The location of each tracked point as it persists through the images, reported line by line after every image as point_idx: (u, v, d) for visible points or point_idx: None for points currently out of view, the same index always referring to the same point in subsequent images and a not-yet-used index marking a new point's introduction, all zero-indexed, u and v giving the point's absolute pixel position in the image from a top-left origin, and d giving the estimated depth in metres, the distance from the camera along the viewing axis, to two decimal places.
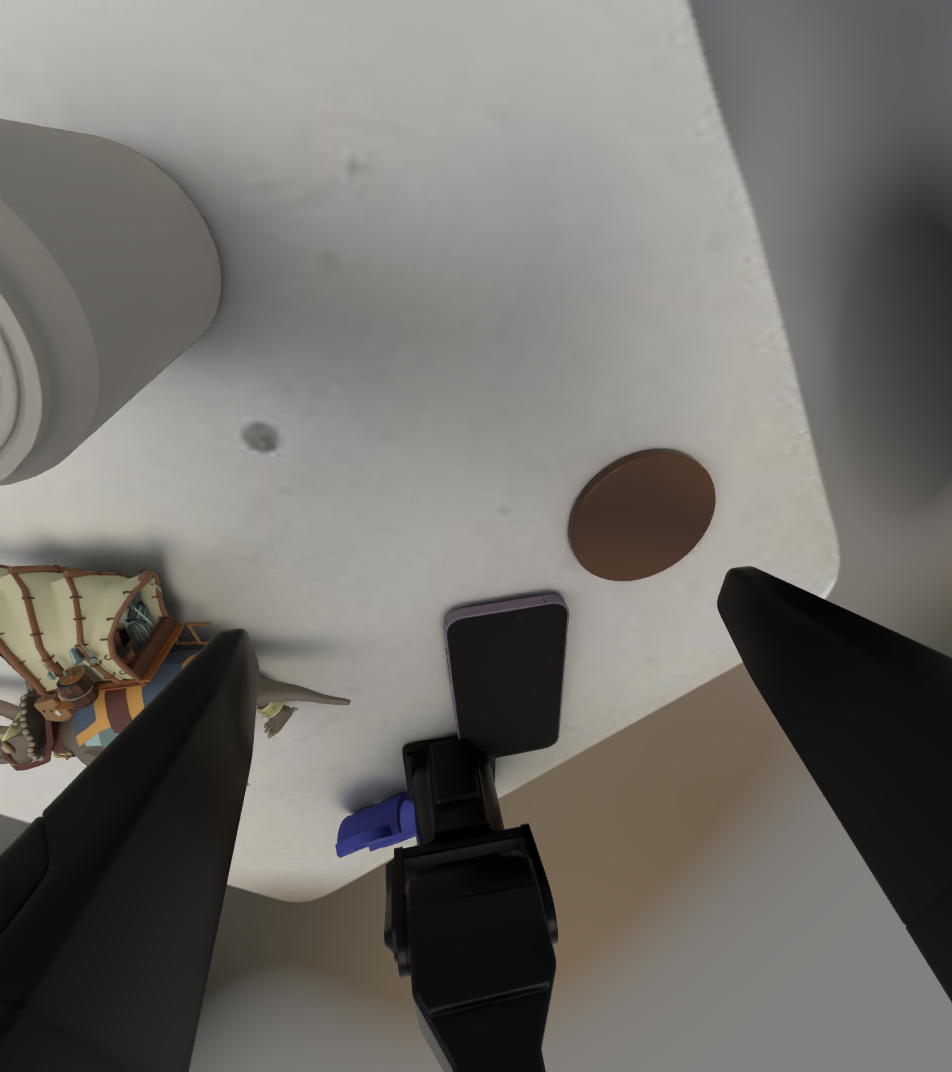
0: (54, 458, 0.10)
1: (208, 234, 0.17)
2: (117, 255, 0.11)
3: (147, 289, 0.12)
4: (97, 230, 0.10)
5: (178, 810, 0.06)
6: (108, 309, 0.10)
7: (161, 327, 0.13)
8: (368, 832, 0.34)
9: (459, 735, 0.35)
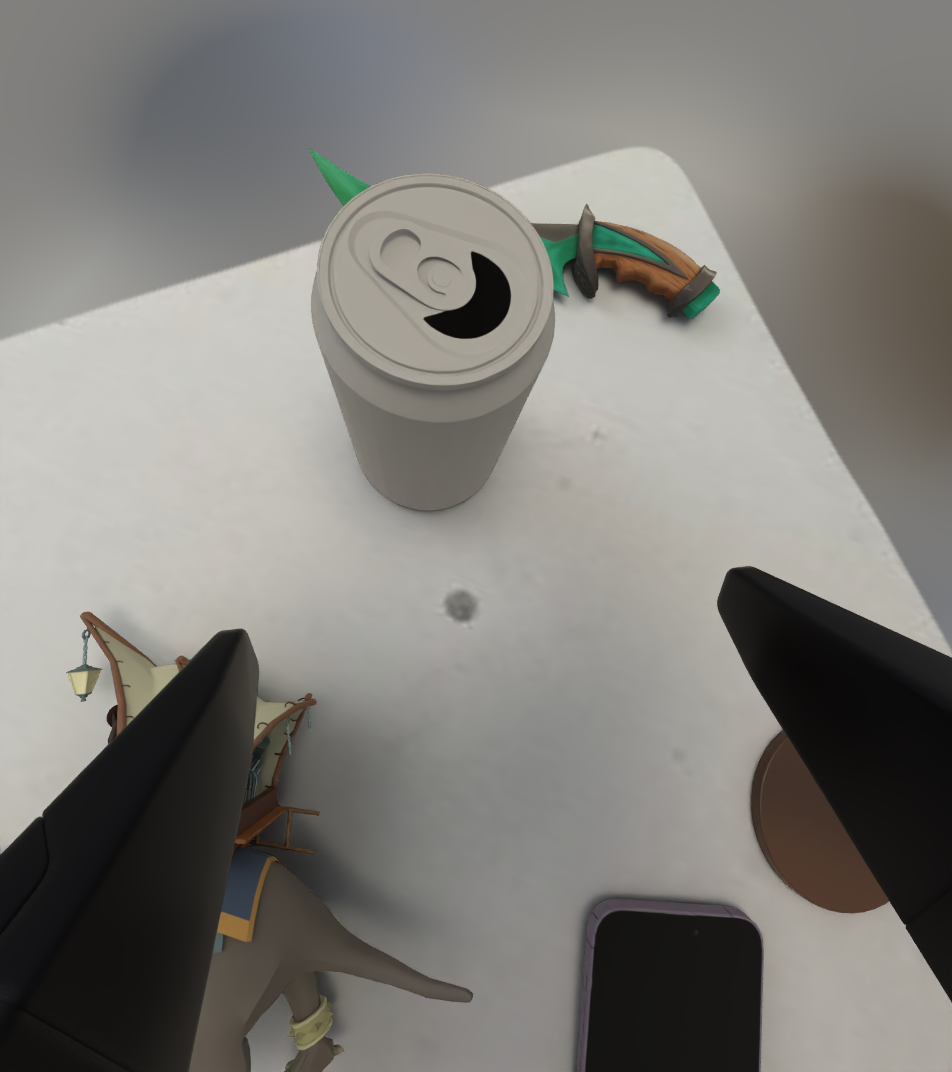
0: (483, 406, 0.13)
1: None
2: None
3: None
4: None
5: (178, 810, 0.06)
6: None
7: (517, 418, 0.17)
8: None
9: None
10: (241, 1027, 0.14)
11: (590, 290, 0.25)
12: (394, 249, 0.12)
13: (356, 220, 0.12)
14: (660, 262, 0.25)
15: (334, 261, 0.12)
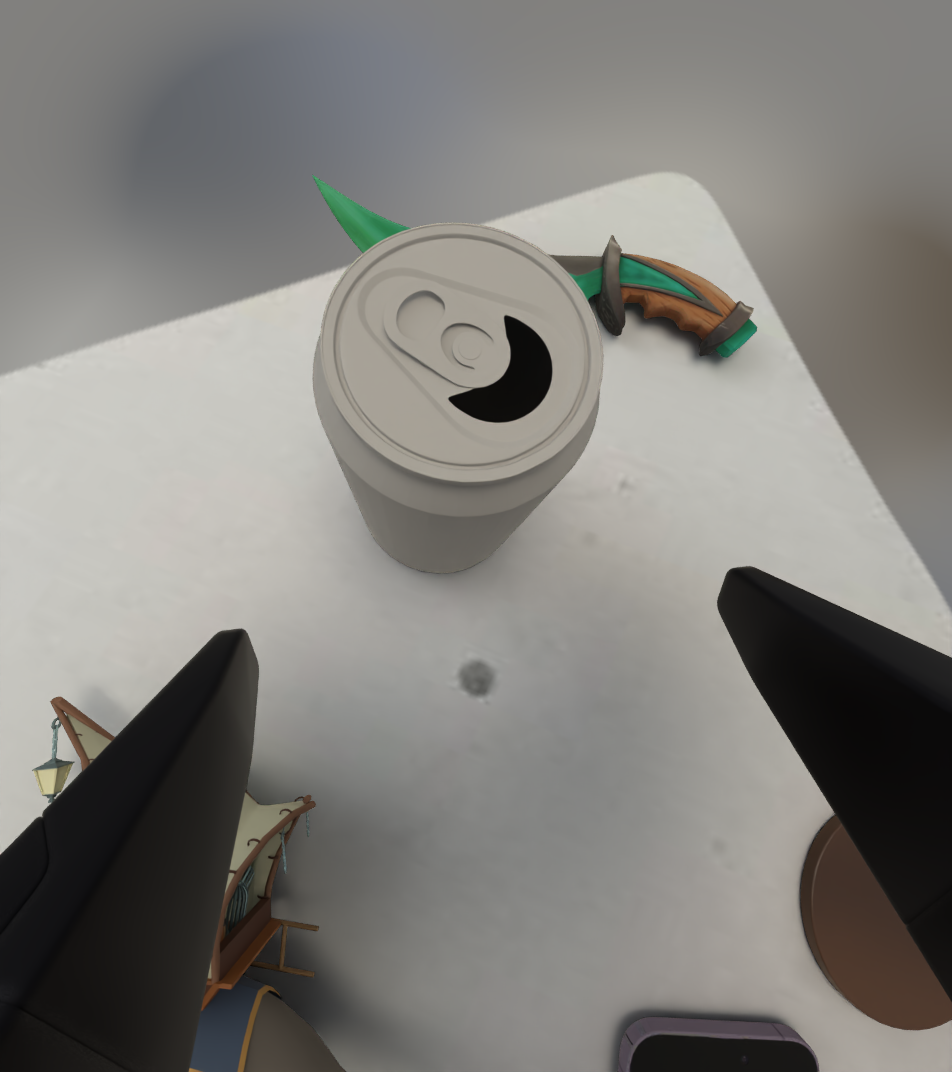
0: (517, 498, 0.11)
1: None
2: None
3: None
4: None
5: (178, 810, 0.06)
6: None
7: None
8: None
9: None
10: None
11: (616, 327, 0.23)
12: (413, 314, 0.10)
13: (367, 279, 0.10)
14: (692, 297, 0.23)
15: (341, 329, 0.10)
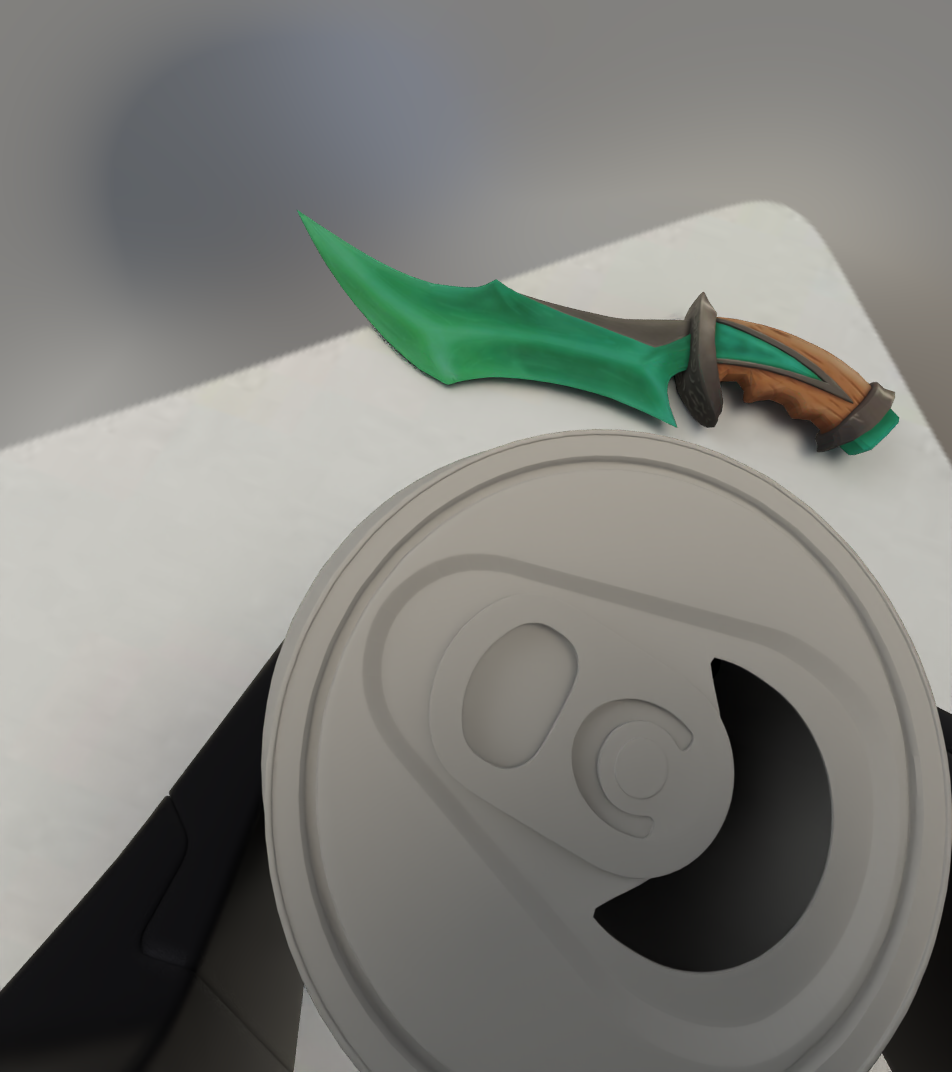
0: None
1: None
2: None
3: None
4: None
5: None
6: None
7: None
8: None
9: None
10: None
11: (709, 418, 0.17)
12: (500, 671, 0.04)
13: (387, 589, 0.04)
14: (812, 378, 0.17)
15: (320, 732, 0.04)
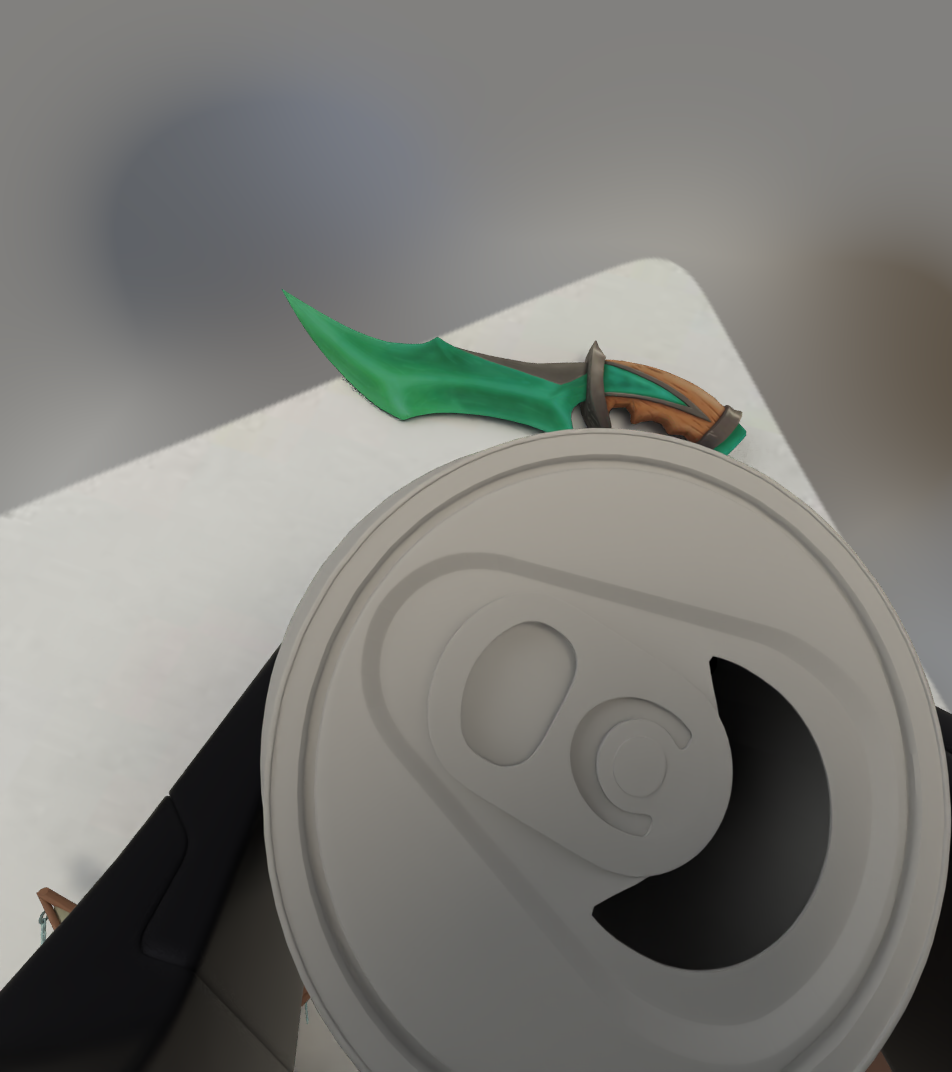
0: None
1: None
2: None
3: None
4: None
5: None
6: None
7: None
8: None
9: None
10: None
11: None
12: (497, 670, 0.04)
13: (386, 588, 0.04)
14: (679, 404, 0.23)
15: (319, 731, 0.04)
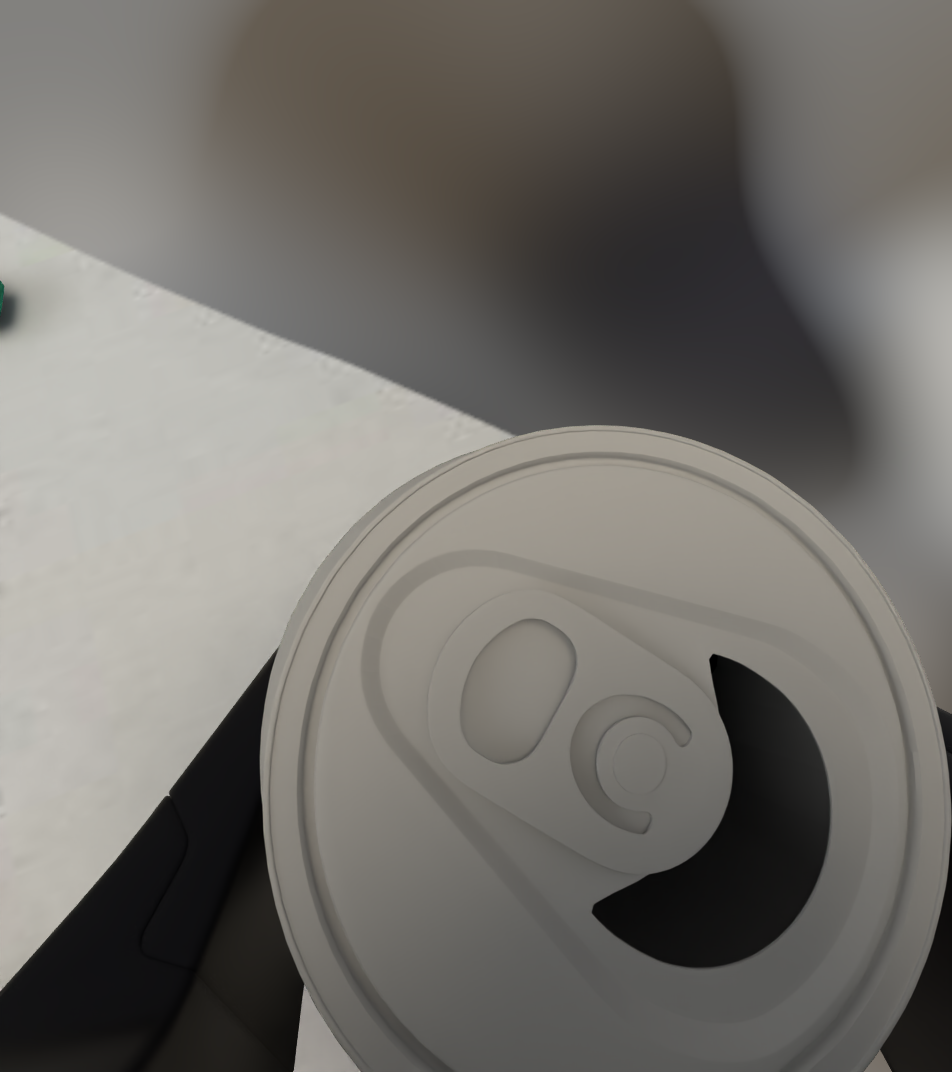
0: None
1: None
2: None
3: None
4: None
5: None
6: None
7: None
8: None
9: None
10: None
11: None
12: (499, 667, 0.04)
13: (386, 585, 0.04)
14: None
15: (319, 729, 0.04)
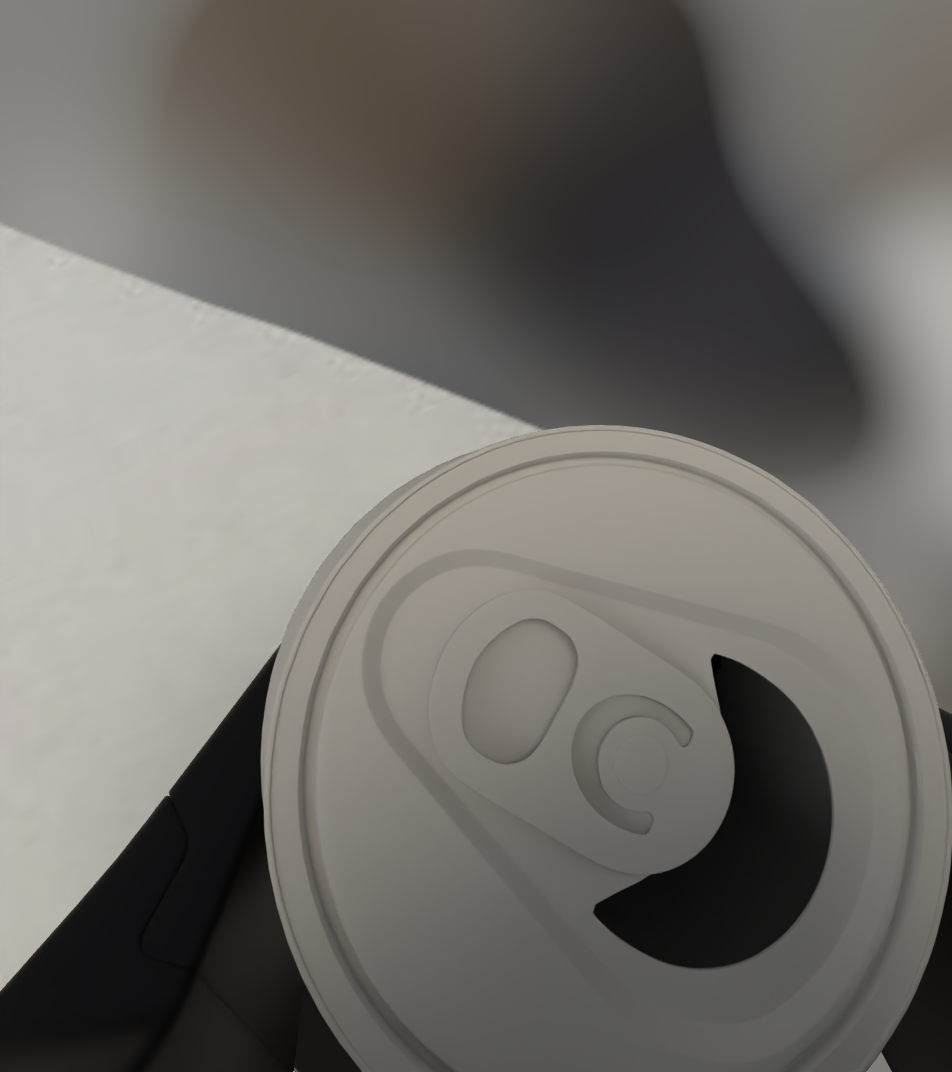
0: None
1: None
2: None
3: None
4: None
5: None
6: None
7: None
8: None
9: None
10: None
11: None
12: (499, 666, 0.04)
13: (387, 585, 0.04)
14: None
15: (318, 729, 0.04)
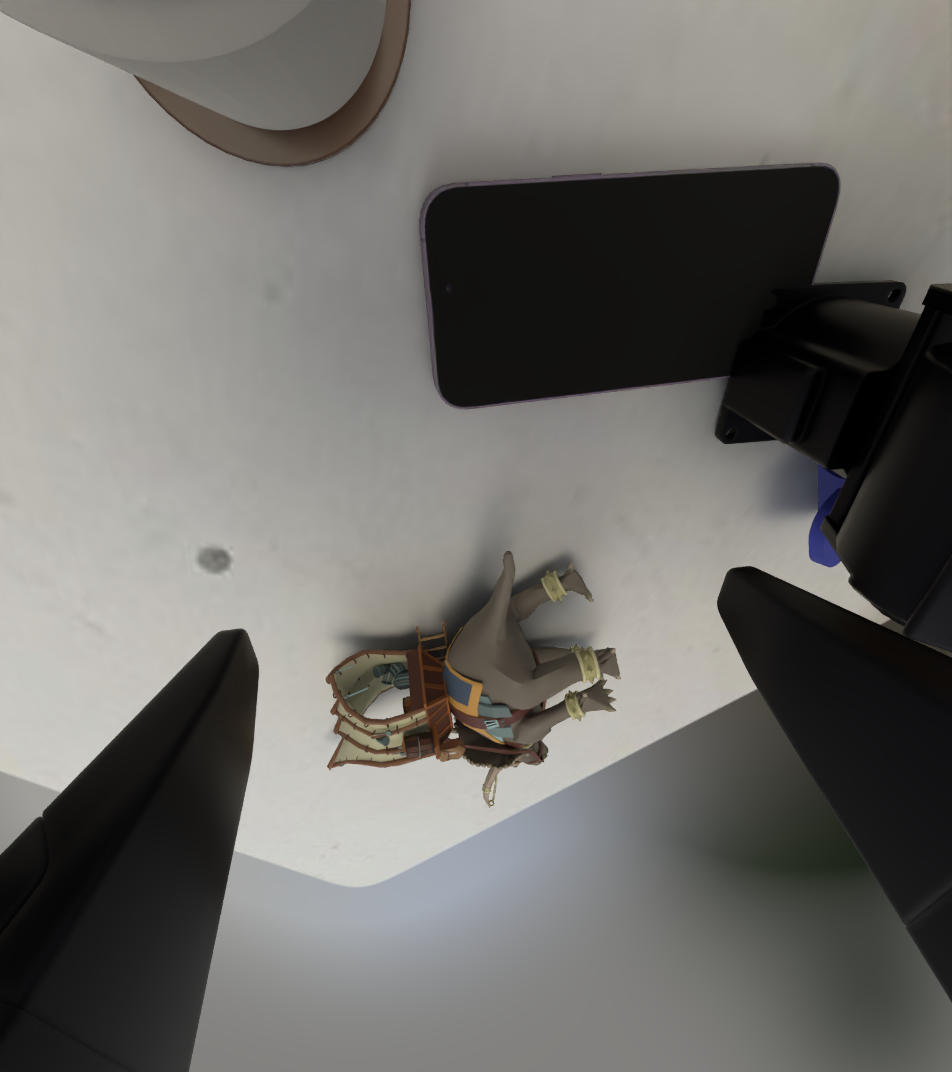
0: None
1: None
2: None
3: None
4: None
5: (178, 810, 0.06)
6: None
7: None
8: (814, 526, 0.23)
9: (706, 378, 0.21)
10: (524, 685, 0.23)
11: None
12: None
13: None
14: None
15: None
